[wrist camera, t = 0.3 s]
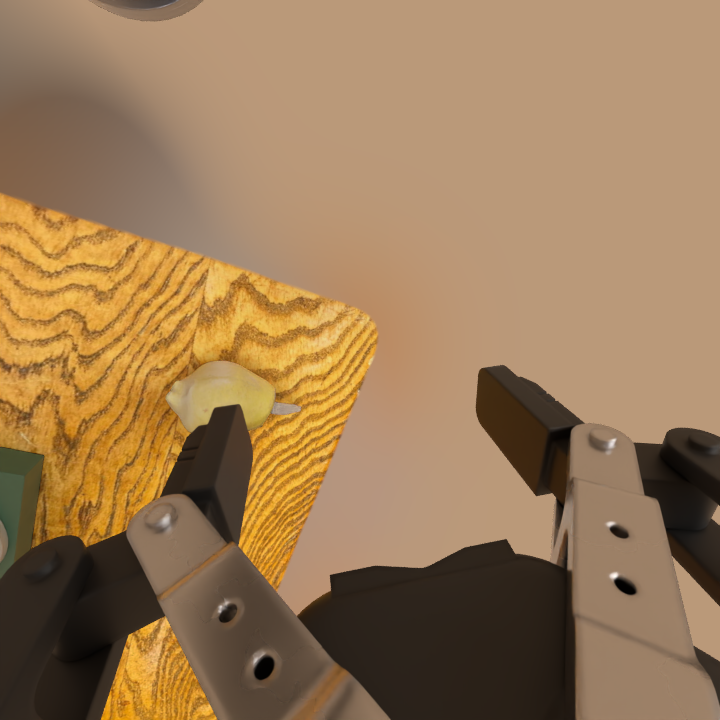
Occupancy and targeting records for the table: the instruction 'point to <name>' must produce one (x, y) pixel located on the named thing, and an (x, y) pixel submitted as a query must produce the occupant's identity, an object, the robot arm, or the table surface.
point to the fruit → (224, 395)
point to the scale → (17, 503)
